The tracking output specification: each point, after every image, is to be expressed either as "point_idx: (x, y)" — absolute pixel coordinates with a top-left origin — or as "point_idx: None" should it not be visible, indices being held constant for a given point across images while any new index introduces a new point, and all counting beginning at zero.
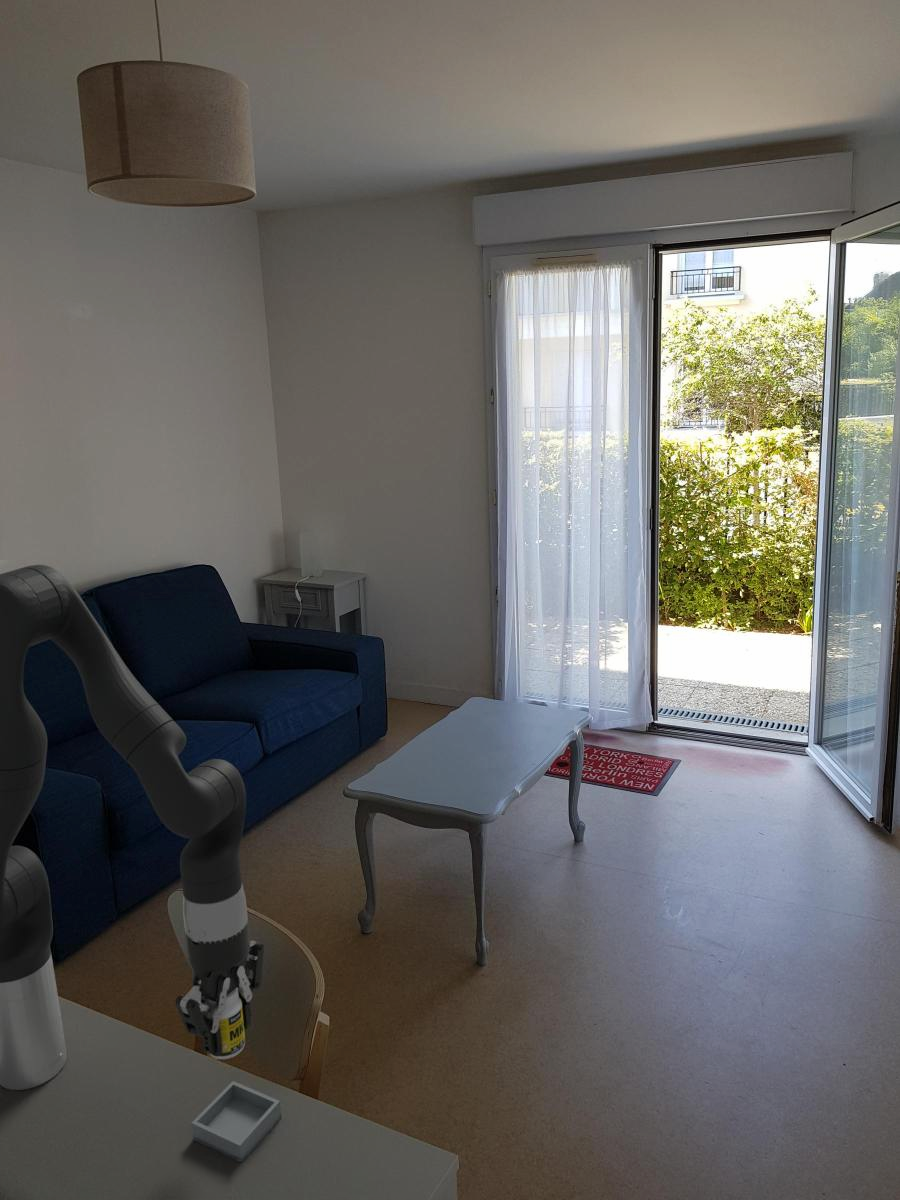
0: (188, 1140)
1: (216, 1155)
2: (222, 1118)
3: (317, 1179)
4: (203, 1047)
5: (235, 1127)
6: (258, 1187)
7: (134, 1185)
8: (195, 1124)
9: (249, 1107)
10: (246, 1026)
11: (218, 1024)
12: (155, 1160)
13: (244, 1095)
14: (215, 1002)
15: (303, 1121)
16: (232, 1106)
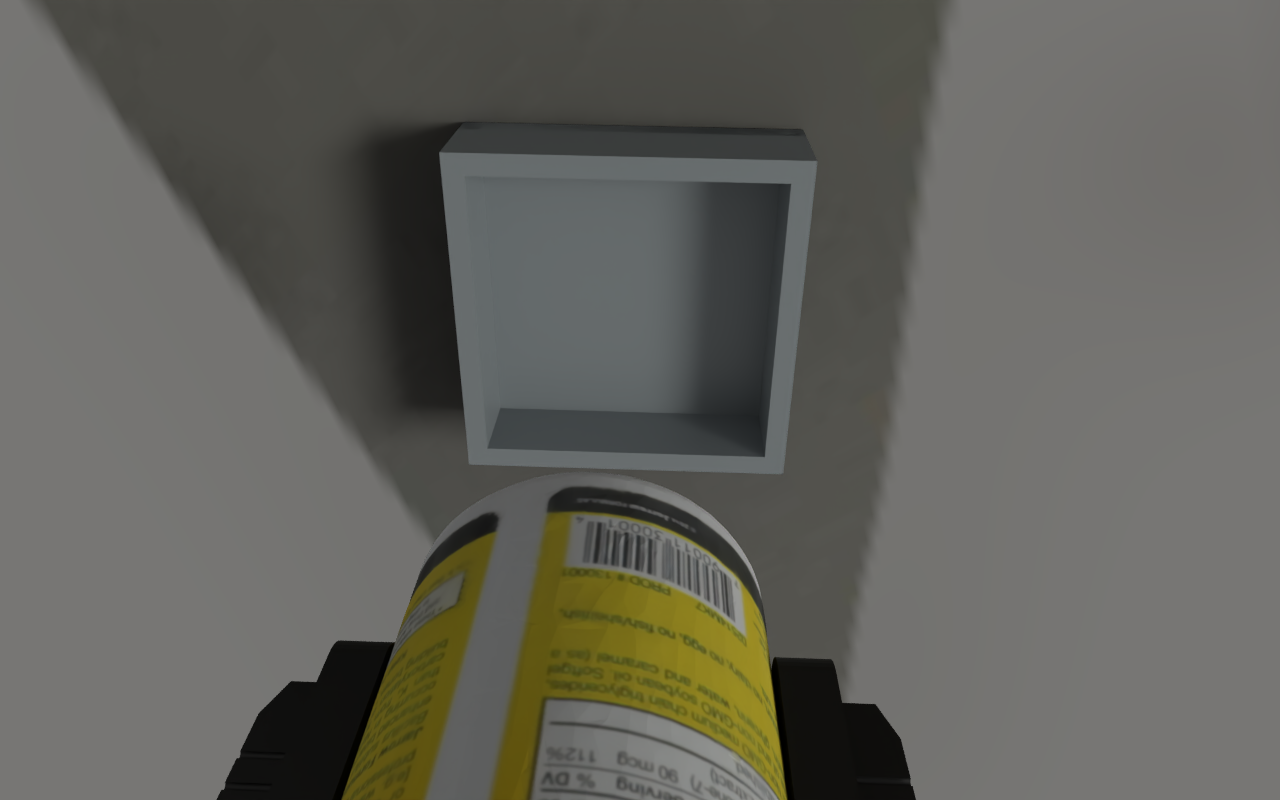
0: (447, 99)
1: None
2: (627, 196)
3: None
4: (253, 736)
5: (611, 294)
6: (435, 527)
7: (93, 41)
8: (444, 183)
9: (750, 277)
10: None
11: None
12: (257, 25)
13: (778, 248)
14: None
15: (791, 507)
16: (718, 192)
